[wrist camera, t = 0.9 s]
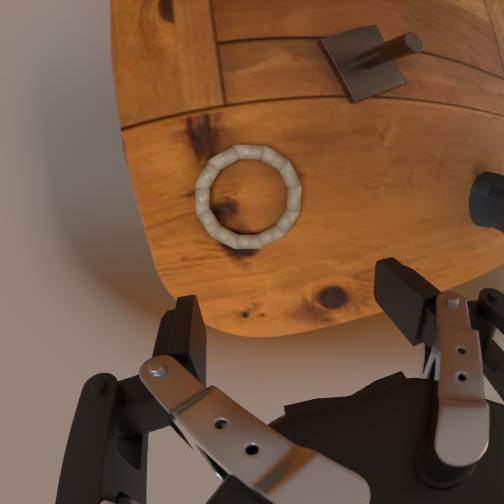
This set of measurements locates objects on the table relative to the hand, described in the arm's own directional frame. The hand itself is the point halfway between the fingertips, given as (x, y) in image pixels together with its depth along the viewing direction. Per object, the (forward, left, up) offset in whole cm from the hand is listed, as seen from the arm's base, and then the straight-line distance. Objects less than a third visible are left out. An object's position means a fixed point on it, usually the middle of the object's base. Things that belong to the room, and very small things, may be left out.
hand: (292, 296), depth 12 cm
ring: (0, 0, -19) cm, 19 cm away
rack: (-8, +19, -20) cm, 29 cm away
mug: (+16, +33, -20) cm, 42 cm away
